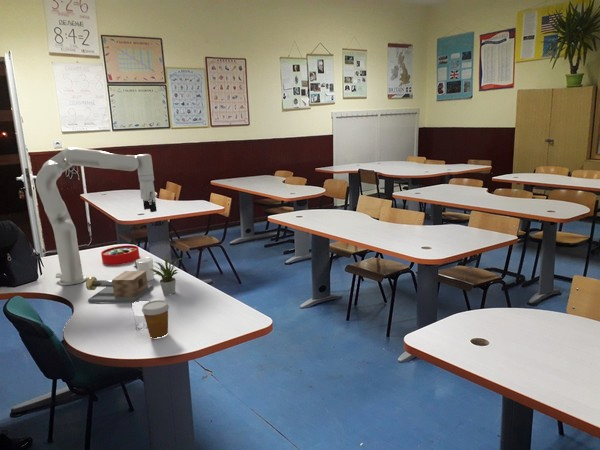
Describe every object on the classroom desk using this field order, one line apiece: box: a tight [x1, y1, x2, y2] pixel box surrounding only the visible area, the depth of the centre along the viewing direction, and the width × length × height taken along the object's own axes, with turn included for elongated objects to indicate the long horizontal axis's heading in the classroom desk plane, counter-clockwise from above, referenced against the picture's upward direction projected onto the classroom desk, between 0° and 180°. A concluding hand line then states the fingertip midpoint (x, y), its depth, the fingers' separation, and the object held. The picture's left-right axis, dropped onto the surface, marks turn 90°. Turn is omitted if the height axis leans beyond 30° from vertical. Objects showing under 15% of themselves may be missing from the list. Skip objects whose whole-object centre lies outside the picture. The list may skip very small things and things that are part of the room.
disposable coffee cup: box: [141, 299, 170, 339], centre depth 177 cm, size 10×10×12 cm
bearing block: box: [111, 270, 149, 297], centre depth 220 cm, size 10×12×8 cm
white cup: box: [136, 257, 155, 282], centre depth 241 cm, size 8×8×10 cm
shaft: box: [85, 276, 113, 291], centre depth 222 cm, size 18×6×6 cm, turn 81°
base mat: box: [87, 284, 154, 304], centre depth 222 cm, size 22×18×2 cm
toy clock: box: [100, 244, 141, 266], centre depth 278 cm, size 20×6×20 cm
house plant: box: [150, 257, 182, 296], centre depth 220 cm, size 14×14×16 cm
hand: (150, 210), depth 257 cm, fingers open, 9 cm apart
